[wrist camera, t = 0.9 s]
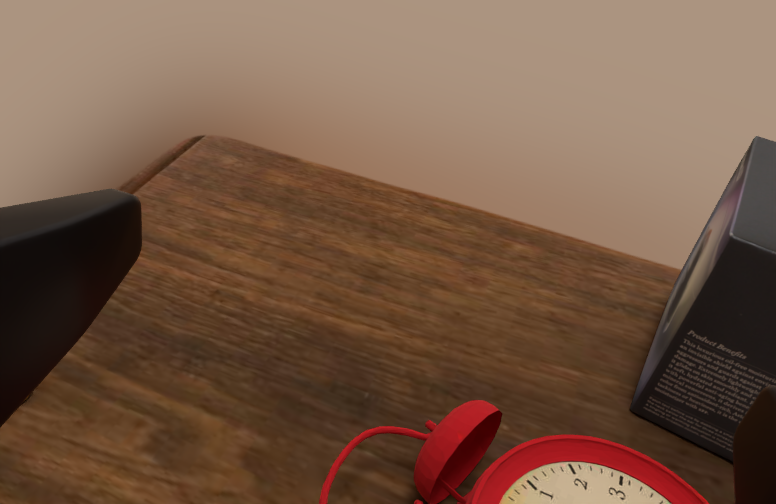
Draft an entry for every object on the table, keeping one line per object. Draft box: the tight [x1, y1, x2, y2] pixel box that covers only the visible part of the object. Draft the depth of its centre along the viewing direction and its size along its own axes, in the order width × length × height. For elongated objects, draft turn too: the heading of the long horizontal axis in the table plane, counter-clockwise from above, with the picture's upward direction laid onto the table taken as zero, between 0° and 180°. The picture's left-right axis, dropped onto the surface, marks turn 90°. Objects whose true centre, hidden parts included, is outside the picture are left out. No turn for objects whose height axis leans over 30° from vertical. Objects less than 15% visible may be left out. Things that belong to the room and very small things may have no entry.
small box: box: [630, 136, 776, 462], centre depth 30 cm, size 11×6×10 cm, turn 150°
